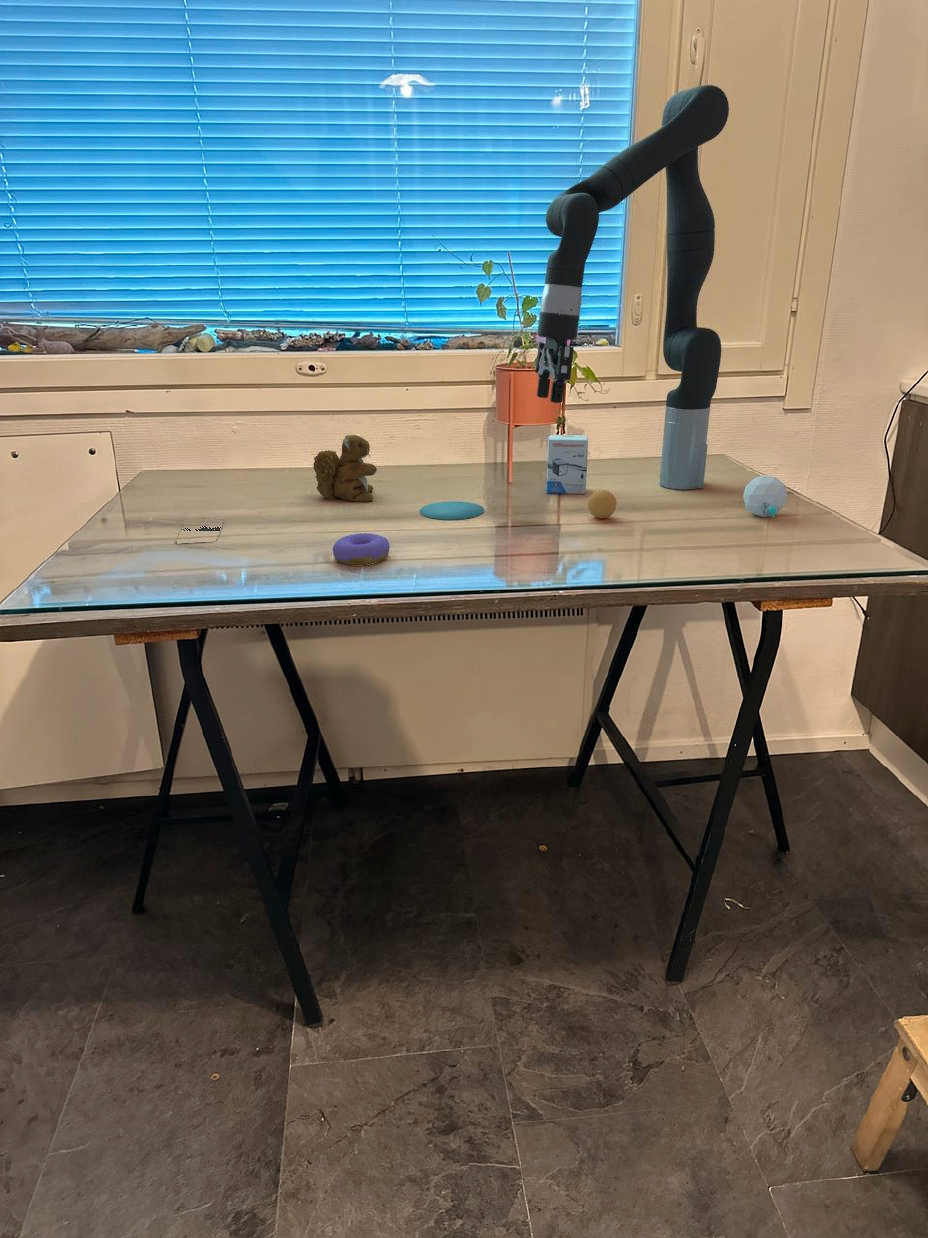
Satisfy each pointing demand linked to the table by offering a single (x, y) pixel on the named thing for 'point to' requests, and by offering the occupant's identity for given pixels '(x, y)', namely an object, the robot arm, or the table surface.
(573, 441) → the ink box
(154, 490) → the table surface
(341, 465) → the stuffed squirrel
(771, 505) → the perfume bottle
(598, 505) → the ball
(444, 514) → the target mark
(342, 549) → the donut
